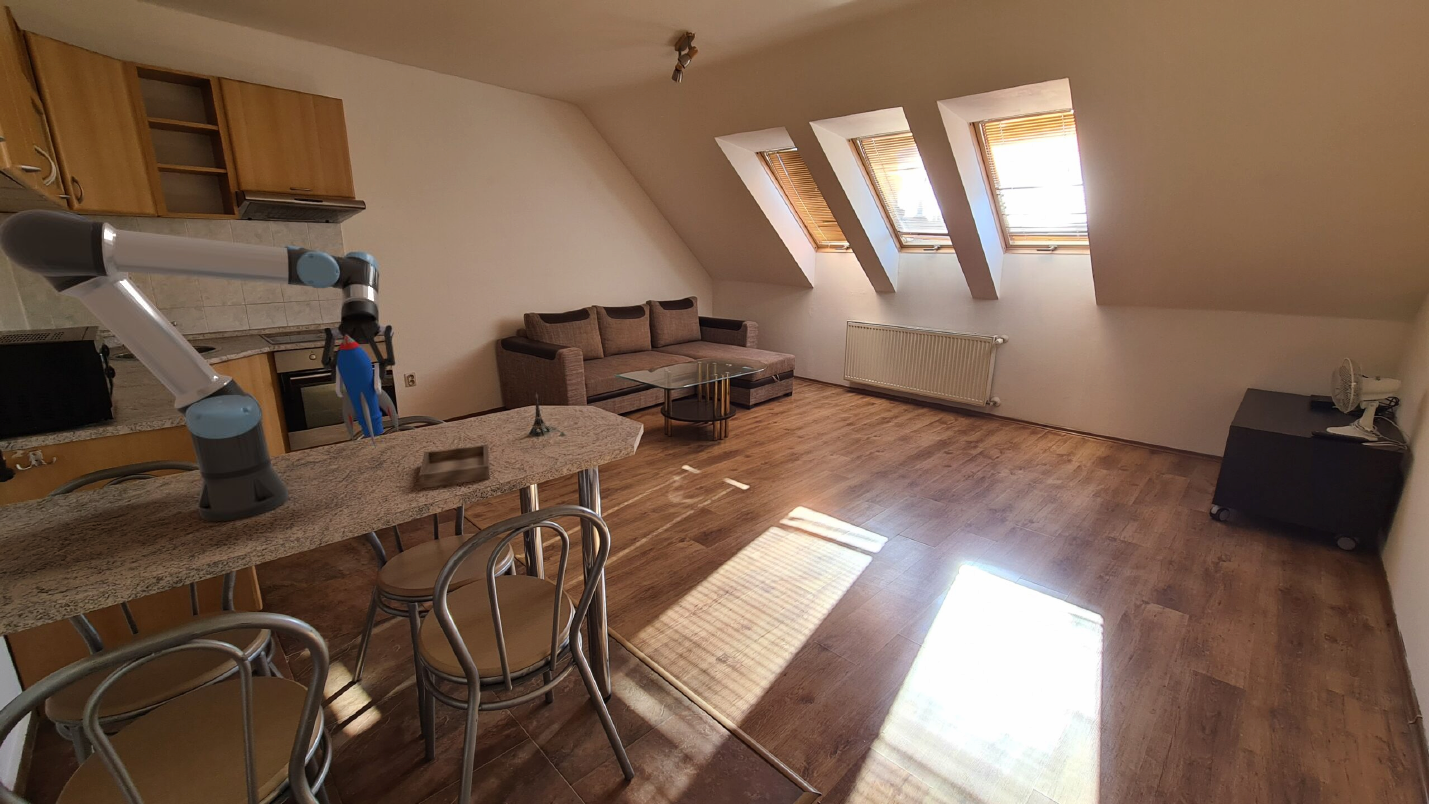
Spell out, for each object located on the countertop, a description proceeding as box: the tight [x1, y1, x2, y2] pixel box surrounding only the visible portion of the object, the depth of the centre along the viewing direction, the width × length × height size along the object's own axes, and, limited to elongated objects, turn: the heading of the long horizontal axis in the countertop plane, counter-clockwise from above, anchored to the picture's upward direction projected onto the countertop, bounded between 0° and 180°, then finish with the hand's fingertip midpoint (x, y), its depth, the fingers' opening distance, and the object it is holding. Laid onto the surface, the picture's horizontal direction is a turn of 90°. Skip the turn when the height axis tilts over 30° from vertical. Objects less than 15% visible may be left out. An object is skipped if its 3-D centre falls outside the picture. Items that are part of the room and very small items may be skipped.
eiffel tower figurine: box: [516, 393, 568, 438], centre depth 170 cm, size 15×10×13 cm
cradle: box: [418, 443, 491, 489], centre depth 144 cm, size 15×16×3 cm
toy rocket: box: [337, 334, 399, 449], centre depth 129 cm, size 11×10×25 cm
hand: (358, 392), depth 127 cm, fingers closed on toy rocket, 7 cm apart
